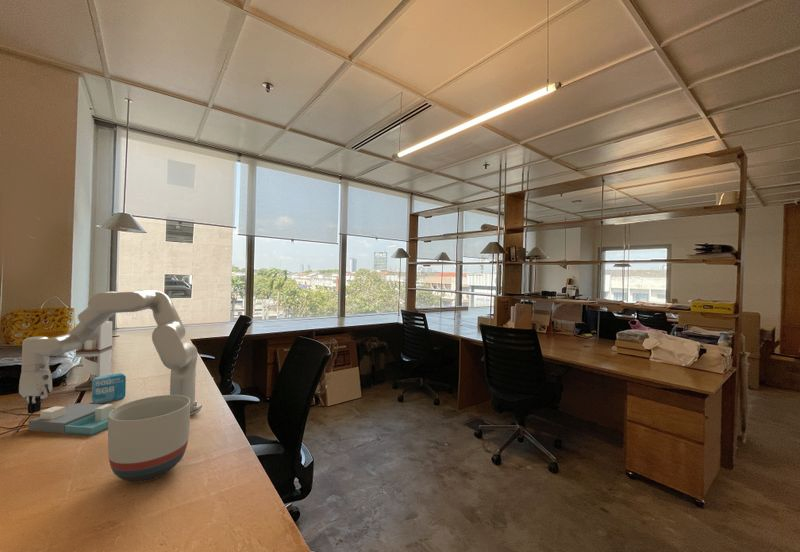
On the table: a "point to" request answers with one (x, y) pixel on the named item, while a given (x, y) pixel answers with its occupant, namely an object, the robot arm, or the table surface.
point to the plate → (63, 418)
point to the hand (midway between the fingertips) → (34, 411)
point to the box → (87, 426)
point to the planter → (148, 436)
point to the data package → (108, 388)
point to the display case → (96, 354)
